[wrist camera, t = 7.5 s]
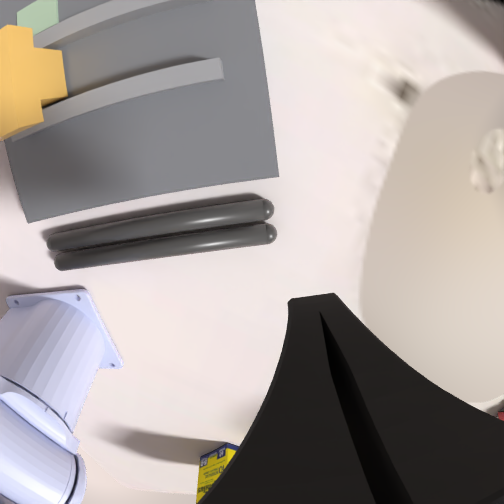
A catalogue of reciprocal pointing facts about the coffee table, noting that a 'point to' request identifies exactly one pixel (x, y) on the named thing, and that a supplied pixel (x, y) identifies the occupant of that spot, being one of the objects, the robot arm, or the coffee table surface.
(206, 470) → the supplement box
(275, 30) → the coffee table surface
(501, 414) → the geometric puzzle
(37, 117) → the toggle knob
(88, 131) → the panel
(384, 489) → the robot arm
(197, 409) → the coffee table surface
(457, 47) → the coffee table surface
